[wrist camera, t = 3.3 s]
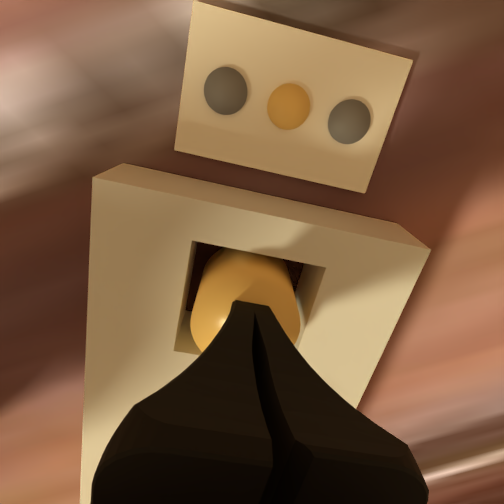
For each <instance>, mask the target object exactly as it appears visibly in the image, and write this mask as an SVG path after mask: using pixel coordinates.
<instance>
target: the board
mask: <svg viewBox="0 0 504 504" xmlns="http://www.w3.org/2000/svg"><path fill="white" fill-rule="evenodd" d="M197 242H202V243H207V244H212V245H217V246H222V247H227V248H232V249H237V250H242V251H247V252H252V253H257V254H262V255H267V256H272V257H277V258H282V259H287V260H291V261H296V262H301V263H304V265H303V269H302V272H301V275H300V278H299V281H298V284H297V288H296V291H295V299H296V303H297V307H298V311H299V315H300V322H301V326H300V333H299V336H298V339H297V341H296V343H295V345H294V346H295V347H296V349H297V350H298V351H299V353H300V354H301V355H302V356H303V358H304V359H305V360H306V361H307V363H308V364H309V365H310V366H311V367H312V368H313V369H314V370H315V372H316V373H317V374H318V375H319V376H320V377H321V378H322V379H323V380H324V381H325V382H326V383H327V384H328V385H329V386H330V387H331V388H332V389H333V390H334V391H336V392H337V393H338V394H339V395H340V396H341V397H342V398H343V399H344V400H346V401H347V402H348V403H349V404H350V405H352V406H353V407H354V408H355V409H356V408H357V406H358V404H359V402H360V399H361V397H362V395H363V393H364V391H365V389H366V387H367V385H368V383H369V380H370V378H371V376H372V374H373V372H374V370H375V368H376V366H377V364H378V361H379V359H380V357H381V355H382V353H383V351H384V349H385V347H386V344H387V342H388V340H389V338H390V336H391V334H392V332H393V330H394V328H395V325H396V323H397V321H398V319H399V317H400V315H401V313H402V311H403V309H404V306H405V304H406V302H407V300H408V298H409V296H410V294H411V292H412V289H413V287H414V285H415V283H416V281H417V279H418V277H419V275H420V273H421V270H422V268H423V266H424V264H425V262H426V260H427V258H428V256H429V254H430V251H431V249H430V248H428V247H427V246H426V245H424V244H423V243H422V242H421V241H419V240H418V239H417V238H416V237H414V236H413V235H412V234H410V233H409V232H408V231H407V230H405V229H404V228H403V227H401V226H400V225H399V224H398V223H394V222H389V221H385V220H380V219H375V218H371V217H366V216H362V215H357V214H353V213H348V212H344V211H339V210H335V209H330V208H326V207H321V206H317V205H312V204H307V203H303V202H298V201H294V200H289V199H285V198H280V197H276V196H271V195H267V194H262V193H258V192H253V191H249V190H244V189H239V188H235V187H230V186H226V185H221V184H217V183H212V182H208V181H203V180H199V179H194V178H190V177H185V176H181V175H176V174H171V173H167V172H162V171H158V170H153V169H149V168H144V167H140V166H135V165H131V164H126V163H122V164H120V165H118V166H116V167H113V168H111V169H109V170H107V171H105V172H103V173H100V174H98V175H96V176H94V177H92V202H91V227H90V253H89V279H88V305H87V330H86V356H85V382H84V408H83V433H82V459H81V485H80V504H90V503H91V486H92V481H93V477H94V474H95V471H96V469H97V466H98V464H99V461H100V459H101V457H102V454H103V452H104V450H105V448H106V446H107V444H108V442H109V441H110V439H111V437H112V435H113V434H114V432H115V431H116V429H117V428H118V426H119V425H120V423H121V422H122V420H123V419H124V417H125V416H126V415H127V413H128V412H129V411H130V409H131V408H132V407H133V405H135V404H136V403H138V402H140V401H141V400H143V399H145V398H146V397H148V396H150V395H151V394H153V393H155V392H156V391H158V390H159V389H161V388H162V387H163V386H165V385H166V384H167V383H169V382H170V381H171V380H173V379H174V378H175V377H177V376H178V375H179V374H180V373H182V372H183V371H184V370H185V369H186V368H187V367H188V366H189V365H190V364H192V363H193V362H194V361H195V360H196V359H197V358H198V357H199V356H200V355H201V353H202V351H201V350H200V349H199V348H198V346H197V345H196V343H195V341H194V339H193V336H192V333H191V327H190V321H191V315H192V311H186V305H187V300H188V294H189V288H190V283H191V277H192V271H193V265H194V260H195V254H196V248H197Z"/></svg>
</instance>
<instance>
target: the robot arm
mask: <svg viewBox="0 0 504 504" xmlns="http://www.w3.org/2000/svg"><path fill="white" fill-rule="evenodd" d="M428 494H429V490H428V488H427V485H426V482H425V480H424V478H423V476H422V474H421V471H420V469H419V467H418V465H417V463H416V461H415V459H414V457H413V455H412V453H411V451H410V449H409V447H408V445H407V444H405V443H404V442H402V441H401V440H399V439H398V438H396V437H395V436H393V435H392V434H390V433H389V432H387V431H386V430H384V429H383V428H381V427H380V426H378V425H377V424H375V423H374V422H372V421H371V420H370V419H368V418H367V417H366V416H364V415H363V414H362V413H361V412H359V411H358V410H357V409H355V408H354V407H353V406H352V405H350V404H349V403H348V402H347V401H346V400H344V399H343V398H342V397H341V396H340V395H339V394H338V393H337V392H336V391H334V390H333V389H332V388H331V387H330V386H329V385H328V384H327V383H326V382H325V381H324V380H323V379H322V378H321V377H320V376H319V375H318V374H317V373H316V372H315V370H314V369H313V368H312V367H311V366H310V365H309V364H308V363H307V361H306V360H305V359H304V358H303V356H302V355H301V354H300V353H299V351H298V350H297V349H296V347H295V346H294V345H293V343H292V342H291V340H290V339H289V337H288V336H287V334H286V333H285V331H284V330H283V328H282V327H281V325H280V323H279V322H278V320H277V318H276V317H275V315H274V313H273V312H272V310H271V308H270V307H269V306H266V305H261V304H255V303H250V302H245V301H239V300H235V301H233V302H232V305H231V310H230V313H229V315H228V317H227V319H226V321H225V322H224V324H223V326H222V327H221V329H220V331H219V332H218V333H217V335H216V336H215V338H214V339H213V340H212V342H211V343H210V344H209V345H208V347H207V348H206V349H205V350H204V351H203V352H202V353H201V355H200V356H199V357H198V358H197V359H196V360H195V361H194V362H193V363H192V364H190V365H189V366H188V367H187V368H186V369H185V370H184V371H183V372H182V373H180V374H179V375H178V376H177V377H175V378H174V379H173V380H171V381H170V382H169V383H167V384H166V385H165V386H163V387H162V388H161V389H159V390H158V391H156V392H155V393H153V394H151V395H150V396H148V397H146V398H145V399H143V400H141V401H140V402H138V403H136V404H135V405H133V407H132V408H131V409H130V411H129V412H128V413H127V415H126V416H125V417H124V419H123V420H122V422H121V423H120V425H119V426H118V428H117V429H116V431H115V432H114V434H113V435H112V437H111V439H110V441H109V442H108V444H107V446H106V448H105V450H104V452H103V454H102V457H101V459H100V461H99V464H98V466H97V469H96V471H95V474H94V477H93V481H92V486H91V503H90V504H427V502H428Z"/></svg>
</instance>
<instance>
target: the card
mask: <svg viewBox="0 0 504 504" xmlns="http://www.w3.org/2000/svg"><path fill="white" fill-rule="evenodd" d="M412 63H413V60H411V59H407V58H403V57H400V56H396V55H392V54H389V53H385V52H381V51H378V50H374V49H370V48H367V47H363V46H359V45H356V44H352V43H348V42H345V41H341V40H337V39H334V38H330V37H326V36H323V35H319V34H315V33H312V32H308V31H304V30H301V29H297V28H293V27H290V26H286V25H282V24H279V23H275V22H271V21H268V20H264V19H260V18H257V17H253V16H249V15H246V14H242V13H238V12H235V11H231V10H227V9H224V8H220V7H216V6H213V5H209V4H205V3H202V2H198V1H194V0H193V8H192V15H191V23H190V31H189V38H188V46H187V54H186V62H185V69H184V77H183V85H182V92H181V100H180V108H179V116H178V123H177V131H176V139H175V146H174V150H176V151H180V152H184V153H189V154H193V155H198V156H202V157H206V158H211V159H215V160H220V161H224V162H228V163H233V164H237V165H242V166H246V167H250V168H255V169H259V170H264V171H268V172H272V173H277V174H281V175H286V176H290V177H294V178H299V179H303V180H308V181H312V182H316V183H321V184H325V185H329V186H334V187H338V188H343V189H347V190H351V191H356V192H360V193H365V192H366V189H367V187H368V184H369V181H370V178H371V176H372V173H373V170H374V167H375V165H376V162H377V159H378V156H379V154H380V151H381V148H382V145H383V143H384V140H385V137H386V134H387V131H388V129H389V126H390V123H391V120H392V118H393V115H394V112H395V109H396V107H397V104H398V101H399V98H400V96H401V93H402V90H403V87H404V85H405V82H406V79H407V76H408V74H409V71H410V68H411V65H412Z"/></svg>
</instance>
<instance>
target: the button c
mask: <svg viewBox="0 0 504 504" xmlns="http://www.w3.org/2000/svg"><path fill="white" fill-rule="evenodd" d="M235 300H239V301H245V302H250V303H255V304H261V305H266V306H269V307H270V308H271V310H272V312H273V313H274V315H275V317H276V318H277V320H278V322H279V323H280V325H281V327H282V328H283V330H284V331H285V333H286V334H287V336H288V337H289V339H290V340H291V342H292V343H293V345H295V343H296V341H297V339H298V336H299V333H300V326H301V322H300V315H299V311H298V307H297V303H296V299H295V294H294V290H293V286H292V282H291V278H290V274H289V271H288V268H287V266H286V264H285V262H284V261H283V259H282V258H277V257H272V256H267V255H262V254H257V253H252V252H247V251H242V250H237V249H232V248H227V247H223V248H221V249H220V250H218V251H217V252H216V253H215V254H213V255H212V256H211V258H210V259H209V260H208V262H207V263H206V265H205V267H204V270H203V274H202V277H201V281H200V285H199V289H198V292H197V296H196V300H195V303H194V307H193V311H192V315H191V321H190V327H191V333H192V336H193V339H194V341H195V343H196V345H197V346H198V348H199V349H200V350H201V351H202V352H203V351H204V350H205V349H206V348H207V347H208V345H209V344H210V343H211V342H212V340H213V339H214V338H215V336H216V335H217V333H218V332H219V331H220V329H221V327H222V326H223V324H224V322H225V321H226V319H227V317H228V315H229V313H230V310H231V305H232V302H233V301H235Z"/></svg>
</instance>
